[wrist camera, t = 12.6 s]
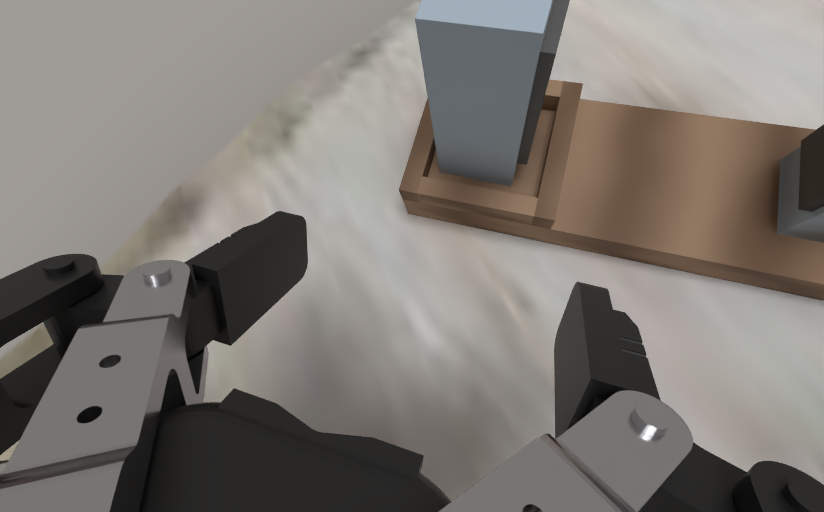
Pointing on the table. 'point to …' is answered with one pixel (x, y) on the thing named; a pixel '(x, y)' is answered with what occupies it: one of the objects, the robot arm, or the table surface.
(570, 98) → the wooden block holder
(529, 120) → the block
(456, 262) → the table surface
